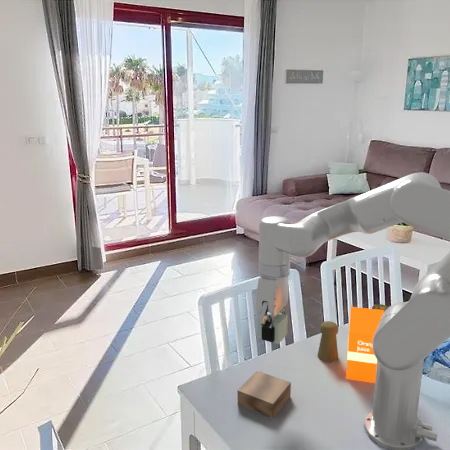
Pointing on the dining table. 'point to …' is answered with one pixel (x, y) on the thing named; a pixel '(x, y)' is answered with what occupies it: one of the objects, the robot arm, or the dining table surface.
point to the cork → (328, 342)
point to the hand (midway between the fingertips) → (273, 334)
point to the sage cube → (277, 327)
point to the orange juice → (362, 344)
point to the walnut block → (264, 394)
